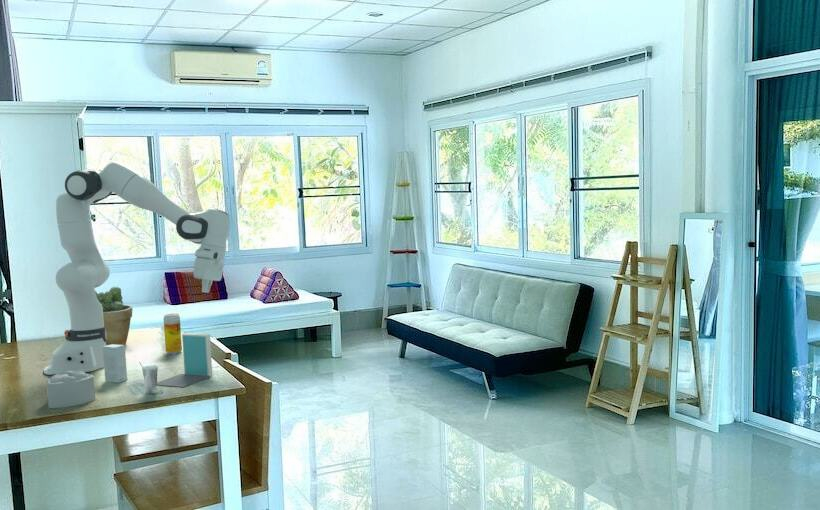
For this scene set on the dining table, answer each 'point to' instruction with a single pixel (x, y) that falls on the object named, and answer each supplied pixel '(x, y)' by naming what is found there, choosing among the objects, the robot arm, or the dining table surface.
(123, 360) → the skincare box
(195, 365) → the tile
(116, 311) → the potted plant
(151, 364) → the milkshake
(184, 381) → the mat
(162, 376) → the dining table surface
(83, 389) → the lumpy-topped squat cylinder
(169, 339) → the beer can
